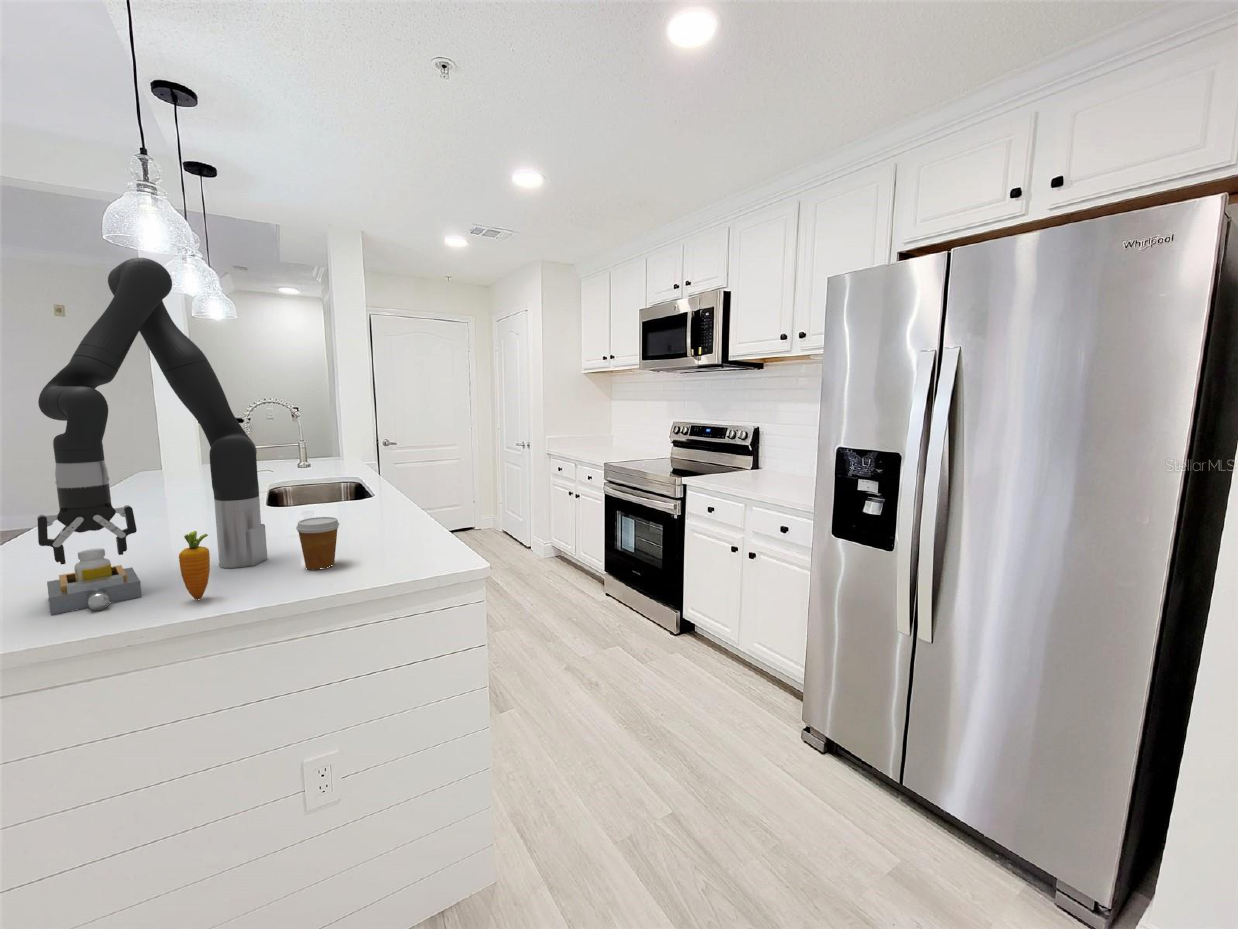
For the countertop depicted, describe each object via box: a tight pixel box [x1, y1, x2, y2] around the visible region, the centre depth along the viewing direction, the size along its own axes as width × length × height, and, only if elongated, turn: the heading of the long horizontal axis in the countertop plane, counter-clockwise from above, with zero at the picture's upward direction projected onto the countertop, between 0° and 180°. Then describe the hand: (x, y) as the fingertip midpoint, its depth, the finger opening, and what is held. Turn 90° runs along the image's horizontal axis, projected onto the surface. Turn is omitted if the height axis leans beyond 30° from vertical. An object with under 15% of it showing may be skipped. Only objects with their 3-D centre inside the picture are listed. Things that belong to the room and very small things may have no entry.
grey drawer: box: [46, 564, 143, 616], centre depth 106 cm, size 13×17×5 cm
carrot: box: [178, 530, 211, 601], centre depth 106 cm, size 5×5×15 cm
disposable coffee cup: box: [295, 516, 341, 571], centre depth 129 cm, size 10×10×12 cm
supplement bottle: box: [74, 547, 112, 582], centre depth 108 cm, size 5×5×10 cm
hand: (92, 558), depth 108 cm, fingers open, 8 cm apart
